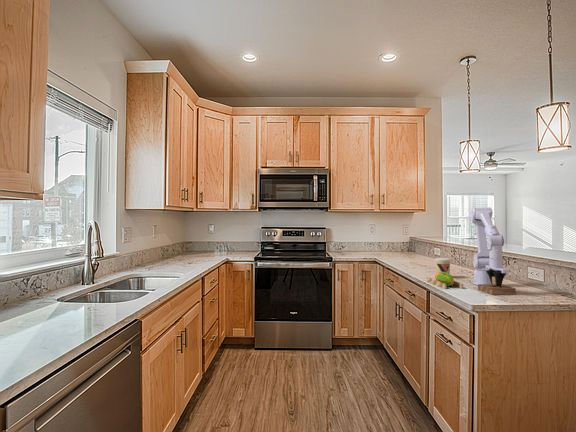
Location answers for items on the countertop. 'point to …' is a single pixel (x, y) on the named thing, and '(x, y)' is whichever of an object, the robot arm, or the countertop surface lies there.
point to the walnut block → (497, 289)
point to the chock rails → (443, 283)
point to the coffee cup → (442, 265)
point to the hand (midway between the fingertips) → (496, 285)
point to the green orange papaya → (445, 278)
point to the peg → (494, 282)
